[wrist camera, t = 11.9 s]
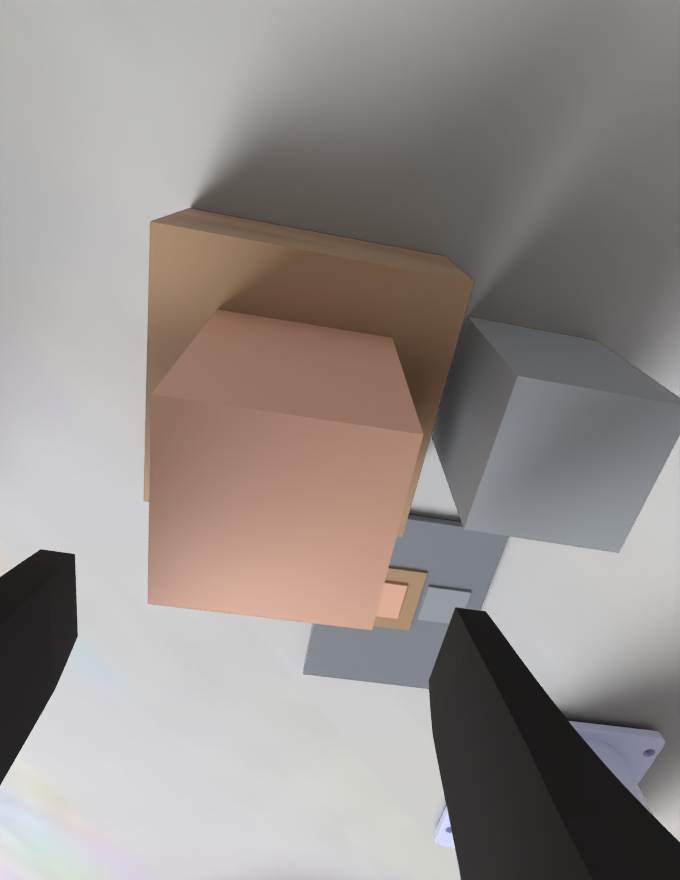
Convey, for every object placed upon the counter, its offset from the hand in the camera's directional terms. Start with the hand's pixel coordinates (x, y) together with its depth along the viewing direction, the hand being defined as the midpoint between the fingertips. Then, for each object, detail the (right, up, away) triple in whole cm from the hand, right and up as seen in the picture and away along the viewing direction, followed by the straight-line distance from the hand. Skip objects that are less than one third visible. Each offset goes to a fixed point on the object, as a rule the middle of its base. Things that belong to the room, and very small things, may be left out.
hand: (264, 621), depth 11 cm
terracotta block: (0, +4, +3) cm, 5 cm away
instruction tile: (+4, -3, +10) cm, 11 cm away
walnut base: (0, +6, +6) cm, 8 cm away
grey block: (+7, +5, +7) cm, 11 cm away
